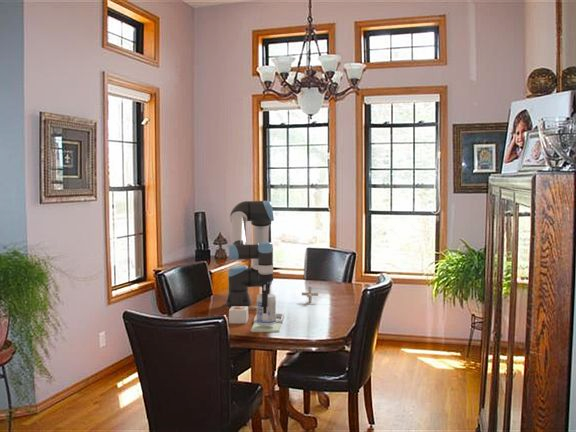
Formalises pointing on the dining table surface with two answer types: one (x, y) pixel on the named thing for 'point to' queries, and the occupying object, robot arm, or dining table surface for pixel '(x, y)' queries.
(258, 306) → the supplement tub
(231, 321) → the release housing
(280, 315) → the frame
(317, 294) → the pipe connector
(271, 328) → the mat
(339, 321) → the dining table surface
